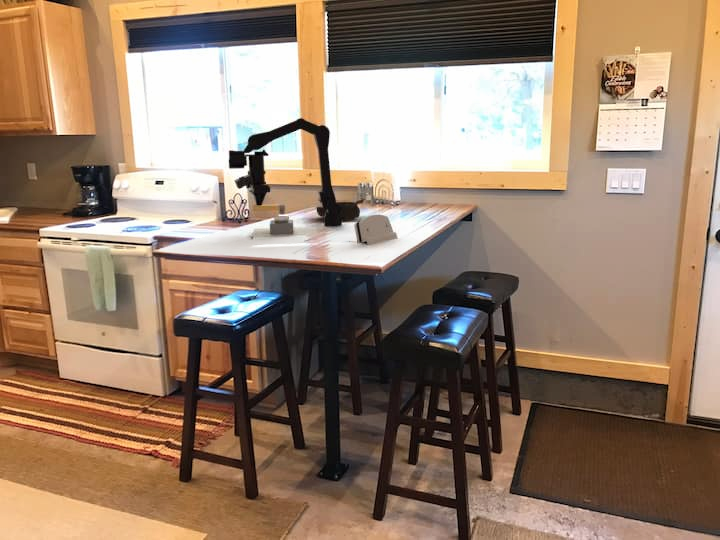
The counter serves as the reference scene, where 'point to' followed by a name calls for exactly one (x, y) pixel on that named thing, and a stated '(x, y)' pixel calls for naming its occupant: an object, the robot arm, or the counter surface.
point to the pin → (281, 218)
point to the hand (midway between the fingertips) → (258, 208)
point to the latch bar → (268, 207)
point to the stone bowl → (343, 209)
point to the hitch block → (283, 229)
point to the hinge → (374, 229)
